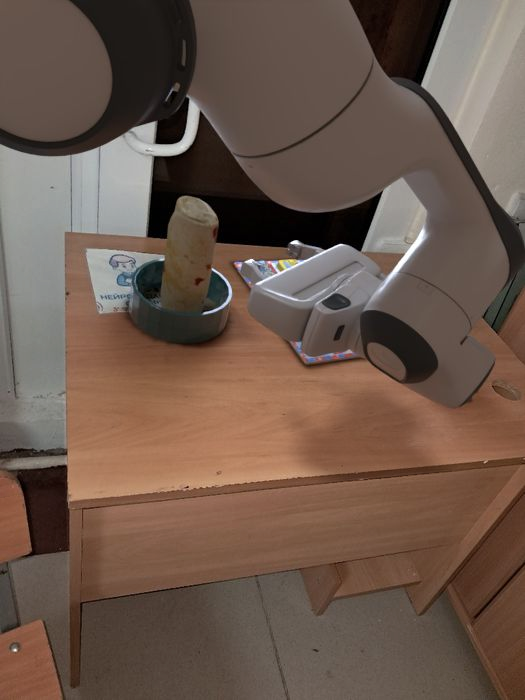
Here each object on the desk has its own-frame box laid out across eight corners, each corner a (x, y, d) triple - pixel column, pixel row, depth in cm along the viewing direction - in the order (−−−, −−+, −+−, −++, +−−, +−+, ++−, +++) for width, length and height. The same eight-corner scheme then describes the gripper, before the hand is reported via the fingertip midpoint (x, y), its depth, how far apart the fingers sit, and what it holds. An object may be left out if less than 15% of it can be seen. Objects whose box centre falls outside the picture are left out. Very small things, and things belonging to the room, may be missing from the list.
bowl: (176, 361, 85) (181, 328, 81) (108, 308, 92) (110, 275, 88) (244, 324, 96) (251, 294, 92) (179, 279, 103) (184, 249, 99)
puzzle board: (411, 353, 101) (416, 342, 99) (303, 370, 90) (307, 358, 89) (328, 262, 120) (331, 251, 119) (231, 268, 110) (234, 256, 108)
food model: (211, 326, 93) (233, 217, 81) (176, 335, 89) (194, 222, 77) (181, 293, 98) (198, 187, 86) (147, 301, 94) (159, 190, 82)
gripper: (406, 263, 71) (320, 215, 76) (317, 318, 57) (219, 254, 62) (388, 303, 75) (307, 255, 80) (301, 363, 61) (210, 300, 66)
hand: (268, 255), depth 71 cm, fingers open, 8 cm apart
